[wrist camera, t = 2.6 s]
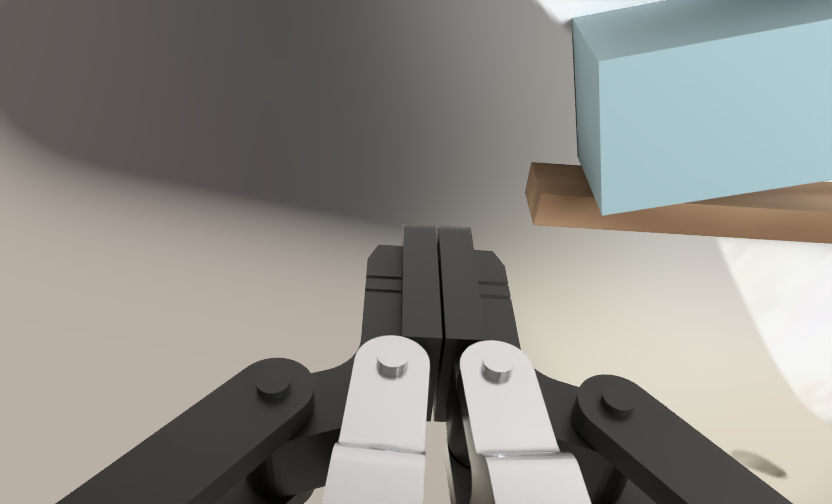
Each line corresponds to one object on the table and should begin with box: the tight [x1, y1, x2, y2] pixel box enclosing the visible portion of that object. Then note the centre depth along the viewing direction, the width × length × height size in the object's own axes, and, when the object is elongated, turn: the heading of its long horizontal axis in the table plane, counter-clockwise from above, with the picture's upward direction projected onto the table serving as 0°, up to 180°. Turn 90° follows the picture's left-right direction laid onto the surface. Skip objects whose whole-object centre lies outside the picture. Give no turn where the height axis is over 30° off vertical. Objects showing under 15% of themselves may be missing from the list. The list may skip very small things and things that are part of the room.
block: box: [572, 0, 832, 216], centre depth 24 cm, size 6×10×4 cm, turn 101°
